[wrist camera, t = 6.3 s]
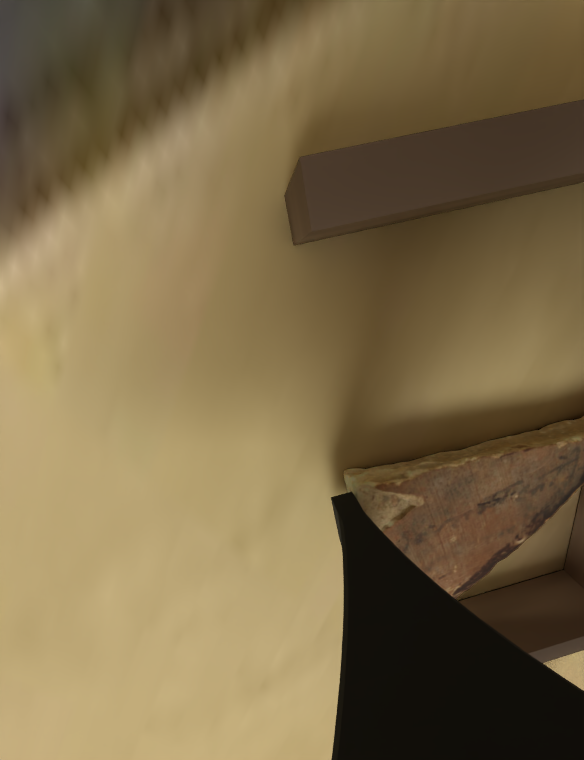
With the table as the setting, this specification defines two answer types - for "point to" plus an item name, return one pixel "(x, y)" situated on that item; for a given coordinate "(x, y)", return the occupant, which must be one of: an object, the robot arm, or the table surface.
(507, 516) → the shard
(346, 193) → the frame
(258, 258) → the table surface
